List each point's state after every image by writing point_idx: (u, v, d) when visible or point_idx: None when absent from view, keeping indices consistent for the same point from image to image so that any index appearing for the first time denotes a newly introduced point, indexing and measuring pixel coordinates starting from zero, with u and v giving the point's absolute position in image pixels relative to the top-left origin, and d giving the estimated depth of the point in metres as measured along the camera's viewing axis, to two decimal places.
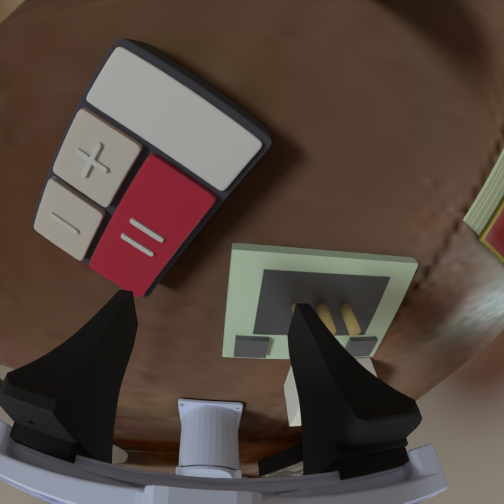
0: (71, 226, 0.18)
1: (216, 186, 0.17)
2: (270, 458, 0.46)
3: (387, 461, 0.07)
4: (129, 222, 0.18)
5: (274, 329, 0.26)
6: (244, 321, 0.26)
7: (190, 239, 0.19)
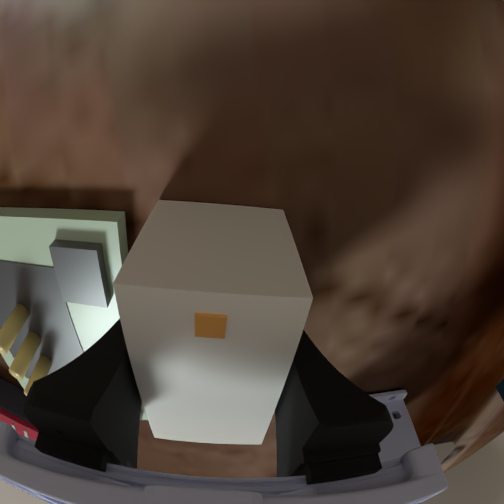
0: None
1: None
2: None
3: (357, 467, 0.07)
4: None
5: None
6: None
7: (6, 410, 0.17)
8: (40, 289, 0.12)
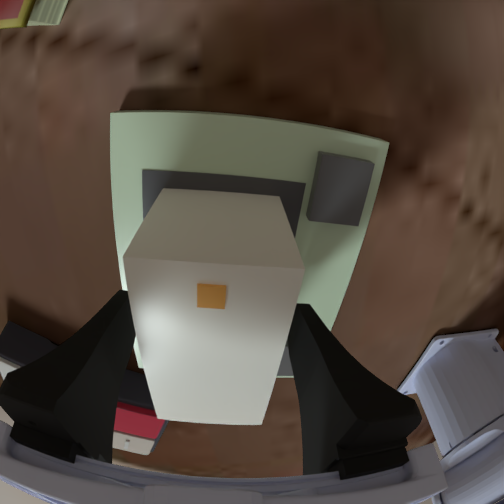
0: (126, 441, 0.21)
1: None
2: None
3: (387, 461, 0.07)
4: None
5: None
6: None
7: None
8: None
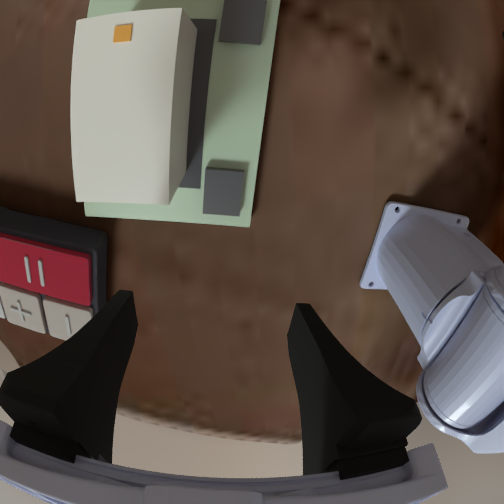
0: (66, 320, 0.22)
1: None
2: None
3: (387, 461, 0.07)
4: (30, 282, 0.19)
5: (191, 159, 0.18)
6: (178, 199, 0.20)
7: (20, 233, 0.18)
8: None
